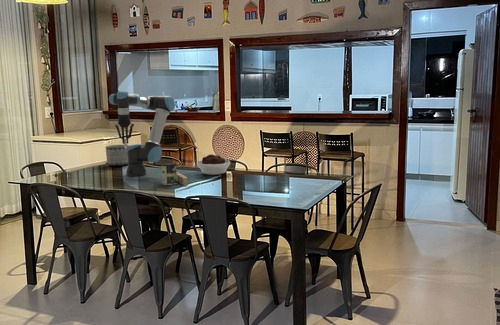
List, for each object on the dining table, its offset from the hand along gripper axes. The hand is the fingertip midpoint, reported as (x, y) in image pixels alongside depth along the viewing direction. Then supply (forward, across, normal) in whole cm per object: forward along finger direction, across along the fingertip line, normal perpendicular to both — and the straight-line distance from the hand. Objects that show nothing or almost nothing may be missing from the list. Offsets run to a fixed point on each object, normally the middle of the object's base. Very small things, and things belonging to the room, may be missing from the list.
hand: (125, 148), depth 335 cm
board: (+24, +34, -16) cm, 45 cm away
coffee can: (+25, +25, -16) cm, 39 cm away
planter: (+25, +7, +77) cm, 81 cm away
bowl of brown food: (+25, +65, +1) cm, 69 cm away
